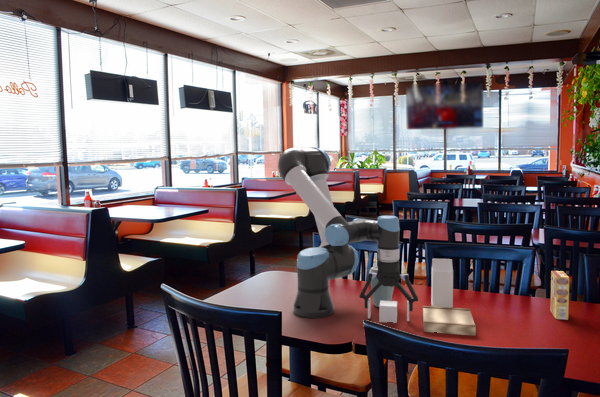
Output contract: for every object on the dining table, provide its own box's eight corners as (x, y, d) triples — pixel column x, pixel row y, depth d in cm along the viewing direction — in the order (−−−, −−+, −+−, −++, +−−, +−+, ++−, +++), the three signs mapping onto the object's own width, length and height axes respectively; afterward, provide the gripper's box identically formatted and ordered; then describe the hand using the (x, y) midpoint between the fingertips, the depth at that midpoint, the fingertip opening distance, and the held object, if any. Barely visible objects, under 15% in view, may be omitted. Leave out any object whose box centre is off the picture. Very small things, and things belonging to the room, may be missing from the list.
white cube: (379, 322, 157) (379, 305, 157) (380, 316, 163) (380, 300, 162) (396, 323, 156) (396, 306, 155) (397, 317, 162) (397, 301, 161)
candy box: (568, 320, 155) (570, 277, 154) (555, 319, 157) (556, 276, 155) (562, 312, 164) (563, 270, 162) (549, 311, 165) (550, 270, 164)
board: (423, 331, 148) (423, 321, 147) (422, 314, 163) (423, 305, 163) (475, 335, 144) (475, 325, 143) (469, 318, 159) (469, 308, 159)
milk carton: (452, 311, 166) (453, 261, 164) (432, 310, 167) (433, 260, 166) (450, 305, 173) (450, 257, 171) (431, 304, 174) (431, 256, 172)
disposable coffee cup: (369, 300, 181) (369, 263, 179) (396, 301, 179) (396, 264, 177) (368, 308, 170) (368, 270, 169) (396, 310, 168) (397, 271, 167)
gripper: (351, 261, 157) (352, 319, 159) (425, 263, 151) (425, 325, 153) (354, 256, 164) (354, 312, 166) (425, 258, 158) (424, 317, 160)
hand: (388, 318), depth 159 cm, fingers open, 13 cm apart
